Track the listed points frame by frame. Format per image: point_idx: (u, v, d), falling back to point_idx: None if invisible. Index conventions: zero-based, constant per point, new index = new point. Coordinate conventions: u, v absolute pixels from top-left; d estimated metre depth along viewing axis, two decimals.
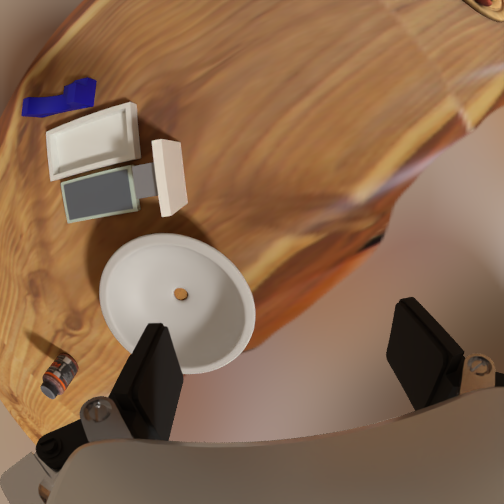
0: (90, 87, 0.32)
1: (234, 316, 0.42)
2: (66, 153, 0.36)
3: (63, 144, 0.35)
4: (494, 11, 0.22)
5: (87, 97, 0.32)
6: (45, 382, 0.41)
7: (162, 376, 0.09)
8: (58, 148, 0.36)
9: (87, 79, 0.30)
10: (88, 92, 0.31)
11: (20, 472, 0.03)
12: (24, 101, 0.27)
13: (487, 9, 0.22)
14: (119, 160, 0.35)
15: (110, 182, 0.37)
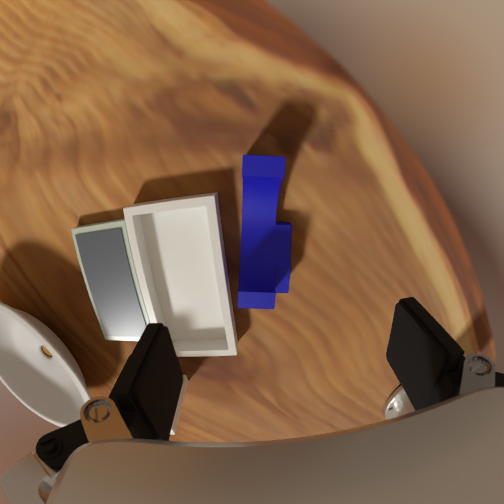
0: None
1: (50, 402, 0.32)
2: (173, 228, 0.26)
3: (189, 220, 0.26)
4: None
5: None
6: None
7: (162, 376, 0.09)
8: (183, 209, 0.25)
9: (284, 292, 0.26)
10: None
11: (20, 472, 0.03)
12: (278, 160, 0.19)
13: None
14: None
15: (130, 313, 0.28)
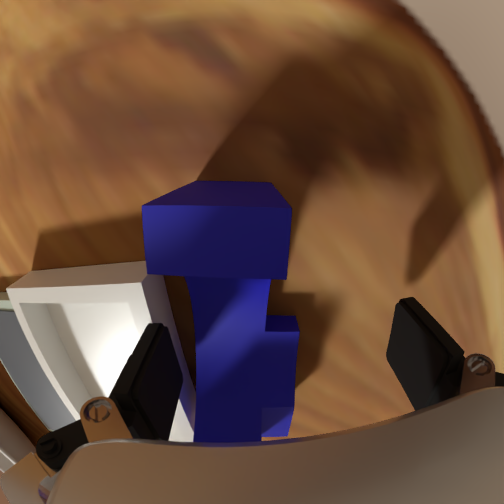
0: None
1: None
2: (91, 319, 0.13)
3: (114, 311, 0.12)
4: None
5: None
6: None
7: (162, 376, 0.09)
8: None
9: (281, 435, 0.12)
10: None
11: (20, 472, 0.03)
12: (267, 222, 0.05)
13: None
14: None
15: (65, 417, 0.15)
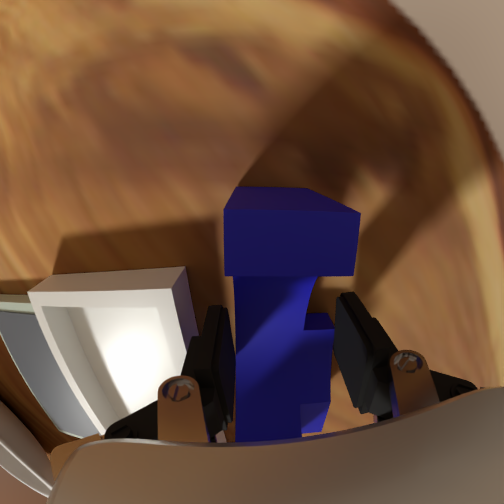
0: None
1: (20, 463, 0.19)
2: (113, 323, 0.13)
3: (137, 315, 0.13)
4: None
5: None
6: None
7: (227, 355, 0.10)
8: None
9: (315, 430, 0.12)
10: None
11: None
12: (341, 225, 0.06)
13: None
14: None
15: (79, 418, 0.15)
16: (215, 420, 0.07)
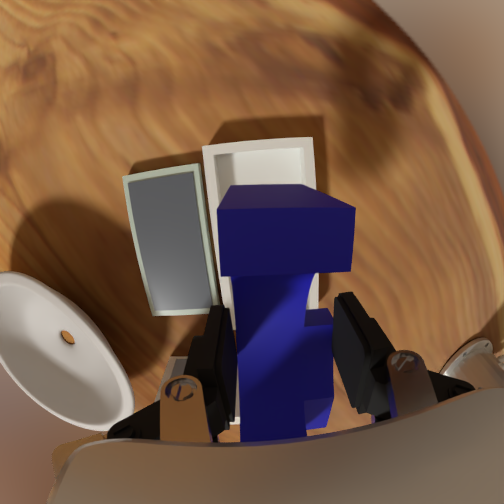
0: None
1: (69, 398, 0.29)
2: (255, 174, 0.23)
3: (275, 167, 0.23)
4: None
5: None
6: None
7: (230, 354, 0.10)
8: (269, 153, 0.22)
9: (320, 426, 0.12)
10: None
11: None
12: (336, 220, 0.06)
13: None
14: (226, 307, 0.25)
15: (192, 279, 0.25)
16: (218, 420, 0.07)
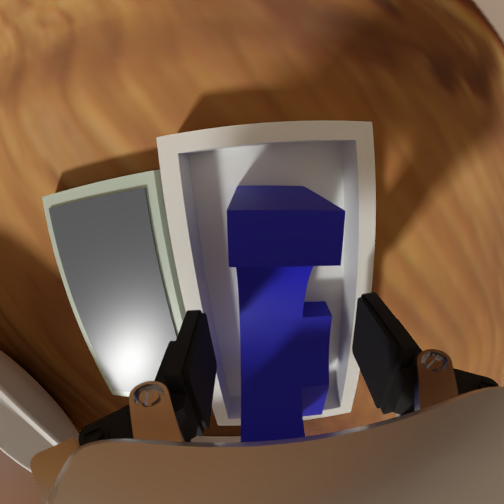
0: None
1: None
2: None
3: (298, 176, 0.12)
4: None
5: None
6: None
7: (204, 360, 0.09)
8: (288, 151, 0.12)
9: (316, 413, 0.14)
10: None
11: (55, 456, 0.05)
12: (327, 221, 0.07)
13: None
14: (214, 402, 0.14)
15: (159, 359, 0.15)
16: (187, 426, 0.07)
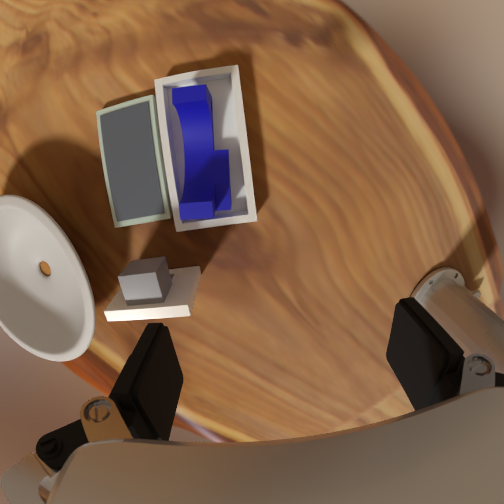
0: None
1: (43, 332, 0.32)
2: None
3: (212, 92, 0.26)
4: None
5: None
6: None
7: (162, 376, 0.09)
8: (207, 83, 0.25)
9: (227, 209, 0.28)
10: None
11: (20, 472, 0.03)
12: (200, 87, 0.21)
13: None
14: (174, 208, 0.28)
15: (147, 187, 0.28)
16: None
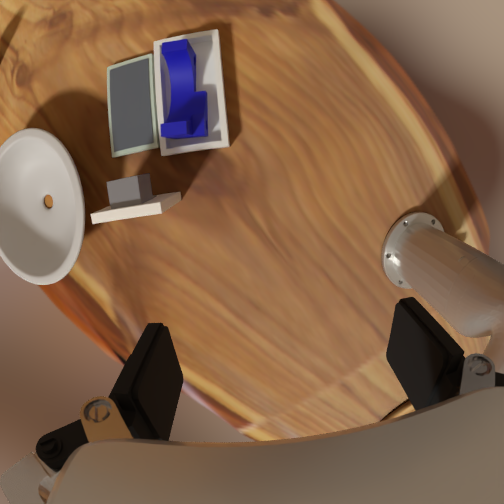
0: (194, 136, 0.32)
1: (37, 260, 0.35)
2: None
3: (198, 51, 0.29)
4: None
5: (179, 137, 0.31)
6: None
7: (162, 376, 0.09)
8: (195, 45, 0.29)
9: (201, 134, 0.31)
10: (185, 136, 0.31)
11: (20, 472, 0.03)
12: (183, 41, 0.24)
13: None
14: None
15: (141, 122, 0.32)
16: None
